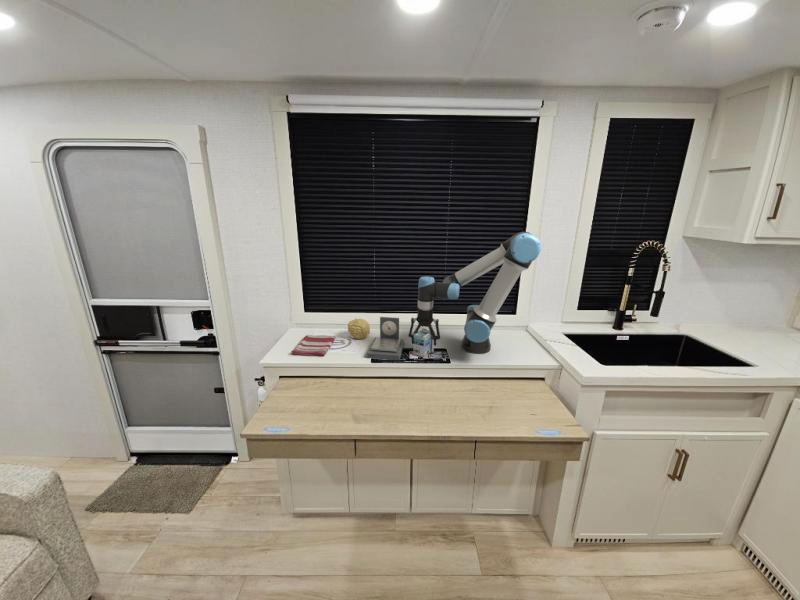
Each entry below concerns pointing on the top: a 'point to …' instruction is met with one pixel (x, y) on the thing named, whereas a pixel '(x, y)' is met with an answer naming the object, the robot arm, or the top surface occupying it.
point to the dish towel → (314, 346)
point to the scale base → (390, 331)
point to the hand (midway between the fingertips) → (423, 350)
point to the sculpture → (359, 328)
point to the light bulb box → (422, 342)
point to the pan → (386, 344)
